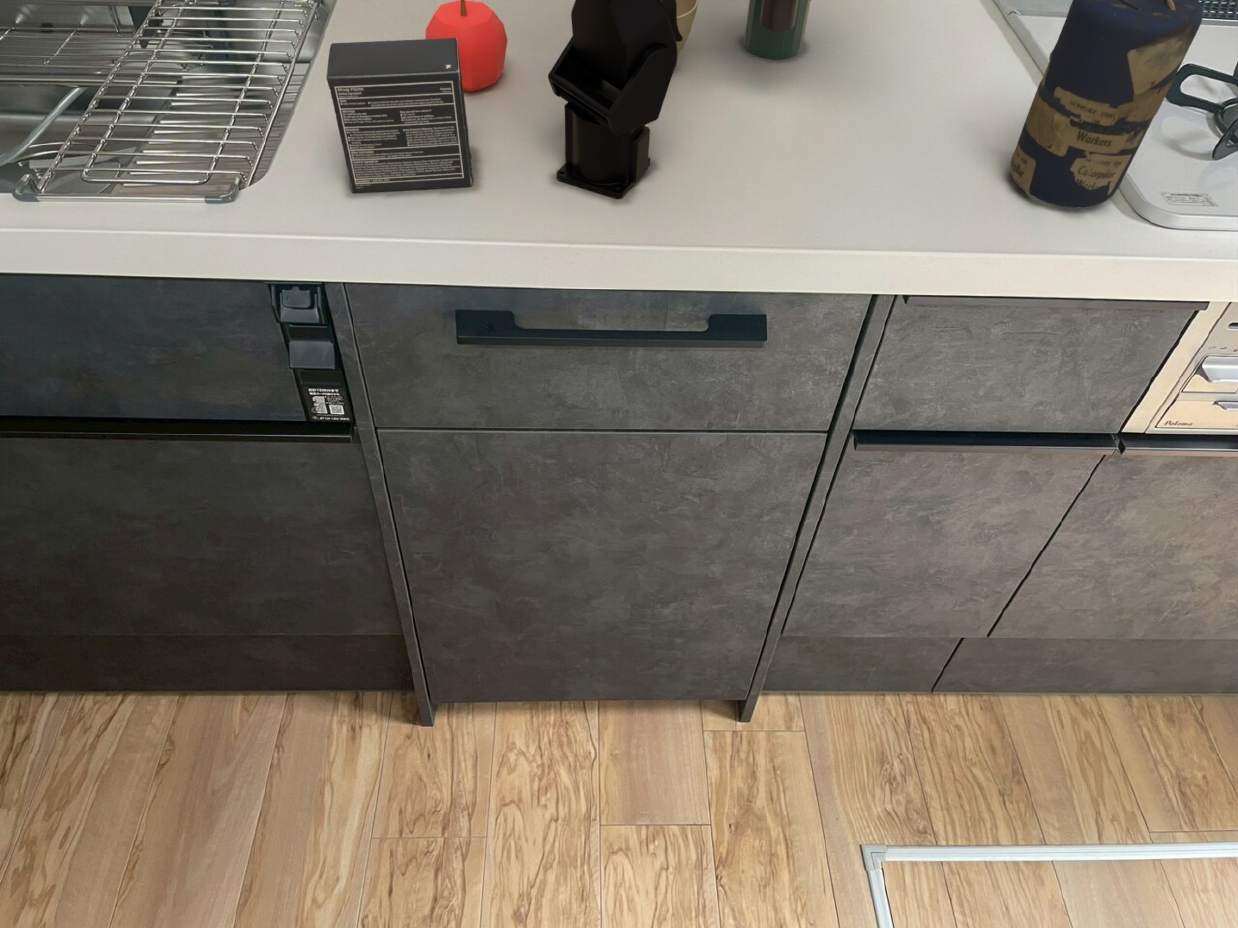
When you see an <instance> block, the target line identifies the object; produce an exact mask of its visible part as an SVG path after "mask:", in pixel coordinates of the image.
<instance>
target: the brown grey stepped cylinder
mask: <svg viewBox="0 0 1238 928" xmlns="http://www.w3.org/2000/svg"><path fill="white" fill-rule="evenodd" d="M797 6H798V0H763V2H762V9H761V17H760V24H761V26H762V27H764V28H765V29H768V30H771V31H777V32H782V31H788V30H790V29H792V28H793V27H794V24H795V18H796V12H797Z"/></svg>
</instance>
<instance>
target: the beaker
mask: <svg viewBox="0 0 1238 928" xmlns="http://www.w3.org/2000/svg"><path fill="white" fill-rule="evenodd" d="M811 1H812V0H798V6H797V12H796V18H795V24H794V27H793V28H792V29H790V30H788V31H782V32H777V31H771V30H768V29H765V28H764V27H762V26H761V24H760V17H761V9H762V2H763V0H748V4H747V12H746V19H745V27H744V33H743V34H744V35H743V37H744V38H743V45H744V48H745V49H746V50H747V52H750V53H751V54H753V55H755V56H758V57H761V58H765V59H771V60H784V59H789V58H792V57H795V56H797V55H798V54H799V53H800V52H801V50H802V48H803V44H804V39H805V35H806V29H807V24H808V17H809V13H810V6H811Z"/></svg>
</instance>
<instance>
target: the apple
mask: <svg viewBox="0 0 1238 928" xmlns="http://www.w3.org/2000/svg"><path fill="white" fill-rule="evenodd" d="M443 38H457V39H458V48H459V57H460V66H461V74H462V83H463V92H465V91H466V92H470V93H473V92H477V91H479V90H482V89H485V88H487V87H489V86H491V85H492V84H494V83H496V82H497V81H498V79H499V78H500V76H501V74H502V73H503V71H504V68H505V62H506V54H507V48H508V42H509V41H508V36H507V32H506V28H505V24H504V23H503V21H501V19H500V17H498V15H497V14H496V12H495V11H494V10H493V9H492V8H490V7H489V6H488V5H486V4H485V3H484V2H482V1H475V0H454V1H450V2H446V3H442V4H440V6H438V8H437V9H436V10H435V12H434V13H433V15H432V17H431V19H430V21H429V23H428V24H427V27H426V28H425V38H424V39H443Z"/></svg>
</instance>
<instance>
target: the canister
mask: <svg viewBox="0 0 1238 928" xmlns="http://www.w3.org/2000/svg"><path fill="white" fill-rule="evenodd" d="M1203 10H1204V9H1203V6H1202V3H1201V2H1200V0H1072V2H1071V4H1070V6H1069V8H1068V11H1067V15H1066V18H1065V20H1064V23H1063V25H1062V28H1061V31H1060V33H1059V36H1058V38H1057V41H1056V43H1055V44H1054V45H1055V46H1054V47H1053V49H1052V51H1051V52H1050V53H1049V57H1048V58H1049V62H1048V64H1047V67H1046V69H1045V71H1044V73H1043V77H1042V78H1041V80H1040V82H1039V84H1038V87H1037V89H1036V92H1035V95H1034V98H1033V99H1032V101H1031V104H1030V108H1029V110H1028V113H1027V115H1026V118H1025V121H1024V123H1023V127H1022V129H1021V133H1020V135H1019V138H1018V141H1017V144H1016V146H1015V149H1014V151H1013V153H1012V155H1011V158H1010V164H1009V165H1010V167H1009V168H1010V173H1011V174H1010V175H1011V177H1012V178H1013V181H1014V183H1015V184H1016V185H1017V186H1018V187H1019V188H1020V189H1022V190H1023V191H1024V192H1025V193H1027V194H1028V195H1030V196H1031V197H1033V198H1036V200H1037V199H1038V200H1039V201H1041V202H1045V203H1048V204H1051V205H1054V206H1059V207H1064V208H1072V209H1081V208H1082V209H1083V208H1090V207H1094V206H1098V205H1101V204H1103V203H1104V202H1107V201H1108V200H1109V199H1111V198H1112V197H1113V196H1114V195H1115V194H1116V193H1117V191H1118V189H1119V188H1120V186H1121V185H1122V182H1123V180H1124V177H1125V176H1126V174H1127V172H1128V170H1129V168H1130V166H1131V164H1132V162H1133V160H1134V158H1135V156H1136V154H1137V153H1138V150H1139V148H1140V146H1141V145H1142V142H1143V141H1144V138H1145V136H1146V134H1147V132H1148V130H1149V128H1150V126H1151V123H1152V122H1153V120H1154V118H1155V116H1156V115H1157V113H1158V112H1159V110H1160V108H1161V107H1162V104H1163V102H1164V100H1165V98H1166V96H1167V94H1168V91H1170V88H1171V86H1172V84H1173V82H1174V80H1175V78H1176V75H1177V74H1178V72H1179V69H1180V67H1181V66H1182V63H1183V61H1184V59H1185V58H1186V56H1187V54H1188V52H1189V49H1190V47H1191V45H1192V44H1193V42H1194V40H1195V37H1196V35H1197V33H1198V31H1199V29H1200V27H1201V24H1202V23H1203V22H1202V21H1203V17H1204V11H1203Z"/></svg>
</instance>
